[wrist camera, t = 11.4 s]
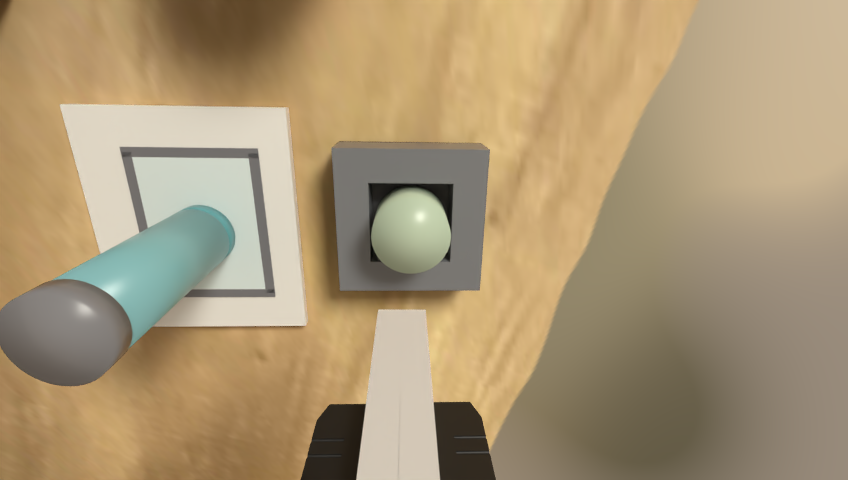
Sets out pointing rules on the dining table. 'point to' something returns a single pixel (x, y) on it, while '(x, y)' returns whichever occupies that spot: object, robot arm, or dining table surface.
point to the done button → (410, 230)
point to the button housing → (409, 166)
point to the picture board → (200, 198)
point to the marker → (112, 298)
